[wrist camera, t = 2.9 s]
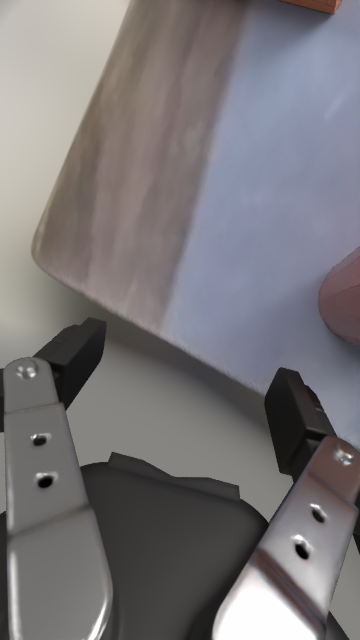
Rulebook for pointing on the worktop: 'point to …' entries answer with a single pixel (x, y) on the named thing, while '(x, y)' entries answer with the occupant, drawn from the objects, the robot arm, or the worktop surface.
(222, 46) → the worktop surface
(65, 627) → the robot arm
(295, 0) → the terracotta tray
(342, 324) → the terracotta cup
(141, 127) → the worktop surface
